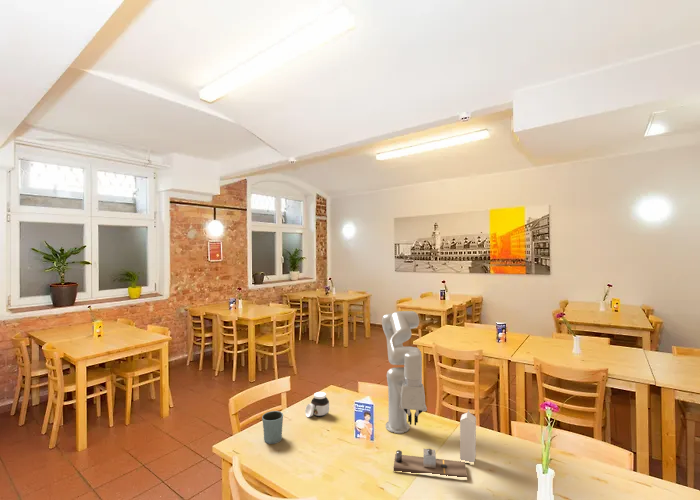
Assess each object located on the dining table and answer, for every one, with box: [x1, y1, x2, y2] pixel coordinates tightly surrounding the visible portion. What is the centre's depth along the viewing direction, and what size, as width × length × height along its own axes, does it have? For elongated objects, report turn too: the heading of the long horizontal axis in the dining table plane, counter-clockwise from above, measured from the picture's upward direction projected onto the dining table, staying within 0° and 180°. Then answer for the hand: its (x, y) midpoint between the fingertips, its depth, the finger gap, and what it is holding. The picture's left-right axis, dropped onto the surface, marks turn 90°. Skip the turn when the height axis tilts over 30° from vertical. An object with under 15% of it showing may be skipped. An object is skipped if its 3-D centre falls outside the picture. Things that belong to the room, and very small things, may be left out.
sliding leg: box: [423, 448, 437, 468], centre depth 154 cm, size 5×5×6 cm
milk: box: [459, 409, 477, 462], centre depth 160 cm, size 6×6×22 cm
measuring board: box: [393, 453, 468, 478], centre depth 154 cm, size 10×30×2 cm, turn 78°
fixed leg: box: [395, 449, 403, 463], centre depth 156 cm, size 2×2×4 cm
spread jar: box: [305, 391, 330, 418], centre depth 203 cm, size 12×11×12 cm
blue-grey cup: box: [261, 410, 284, 445], centre depth 178 cm, size 10×10×12 cm
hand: (413, 423), depth 155 cm, fingers closed
